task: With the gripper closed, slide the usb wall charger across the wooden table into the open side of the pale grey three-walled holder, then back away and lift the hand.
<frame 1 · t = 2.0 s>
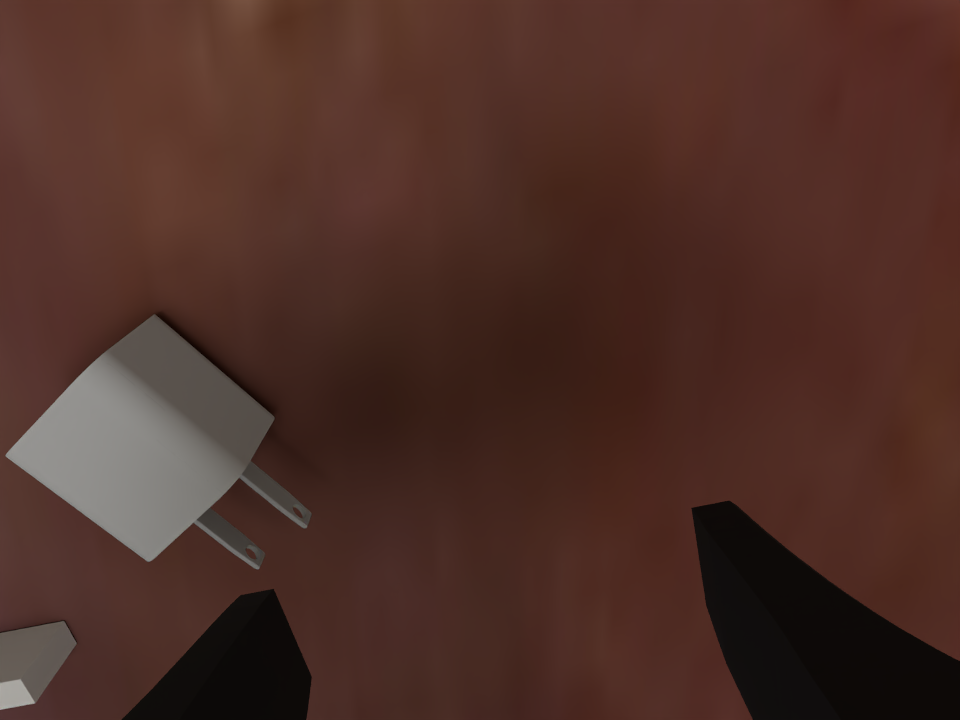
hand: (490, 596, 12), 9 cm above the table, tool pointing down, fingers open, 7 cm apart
usb wall charger: (216, 428, 22), on the table
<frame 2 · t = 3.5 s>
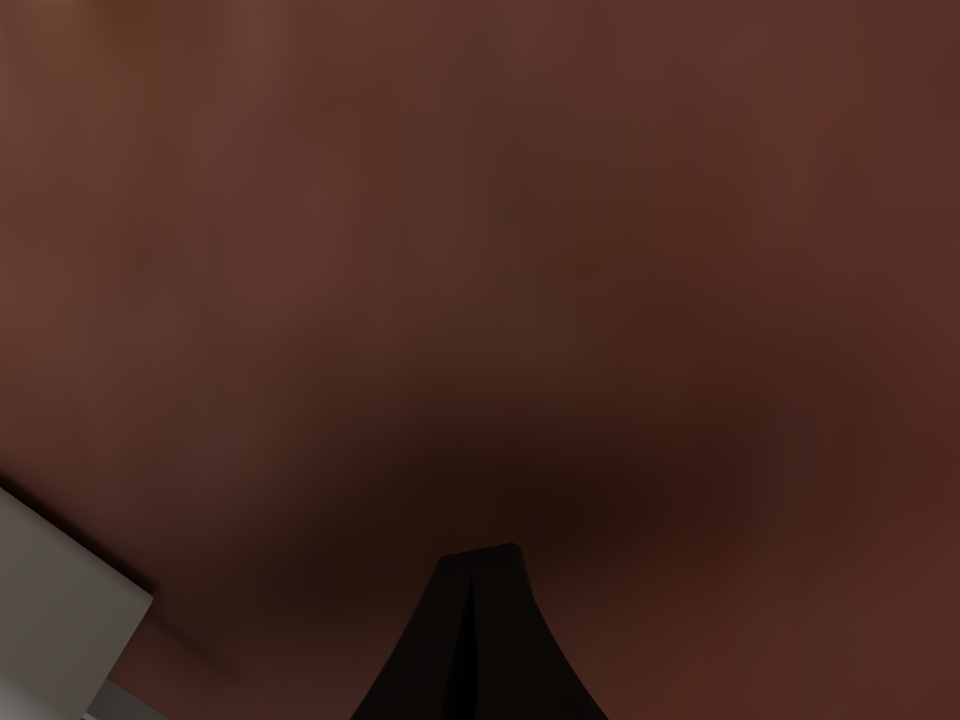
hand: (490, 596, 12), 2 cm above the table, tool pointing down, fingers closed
usb wall charger: (73, 605, 15), on the table
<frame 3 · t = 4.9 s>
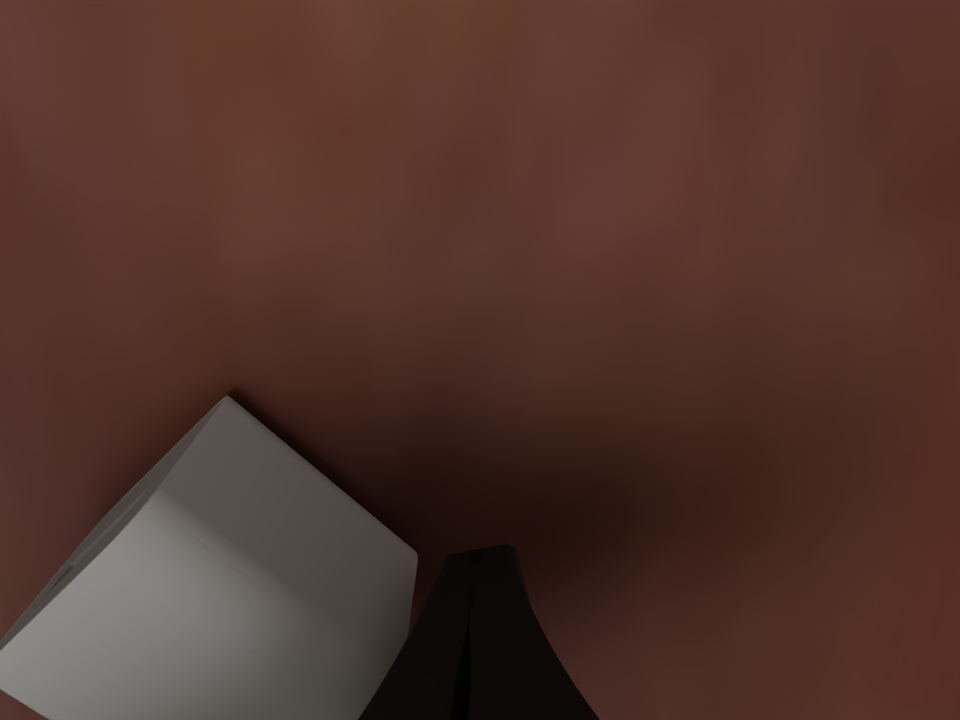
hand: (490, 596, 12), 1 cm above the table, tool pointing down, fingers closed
usb wall charger: (316, 561, 14), on the table, touching gripper
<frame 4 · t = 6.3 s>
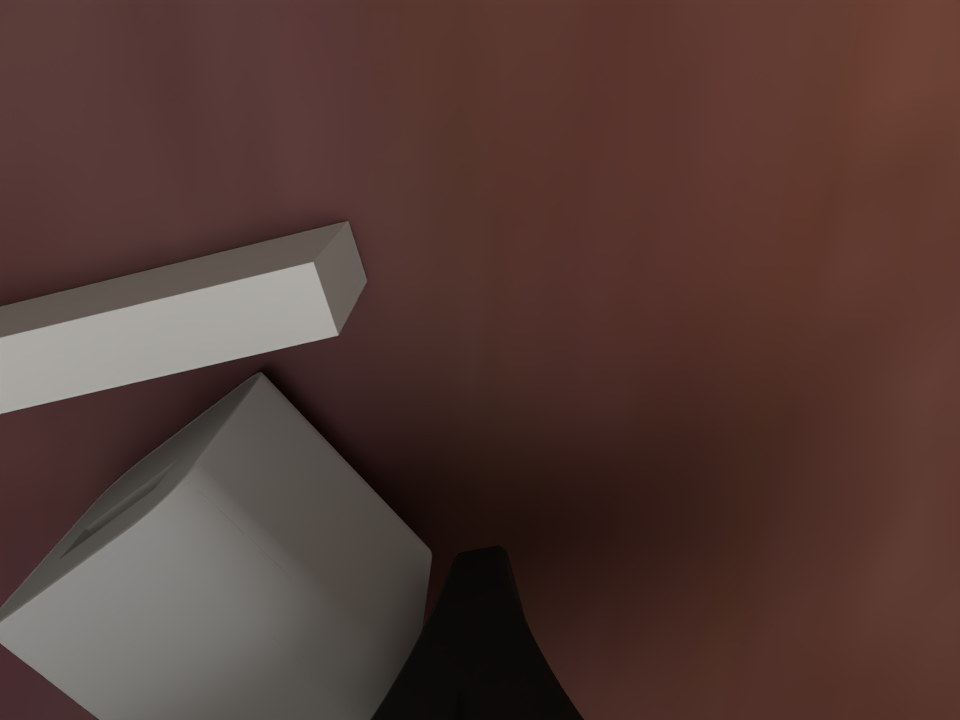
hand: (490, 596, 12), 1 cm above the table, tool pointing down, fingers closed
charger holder: (180, 609, 14), on the table
usb wall charger: (325, 547, 14), on the table, touching gripper
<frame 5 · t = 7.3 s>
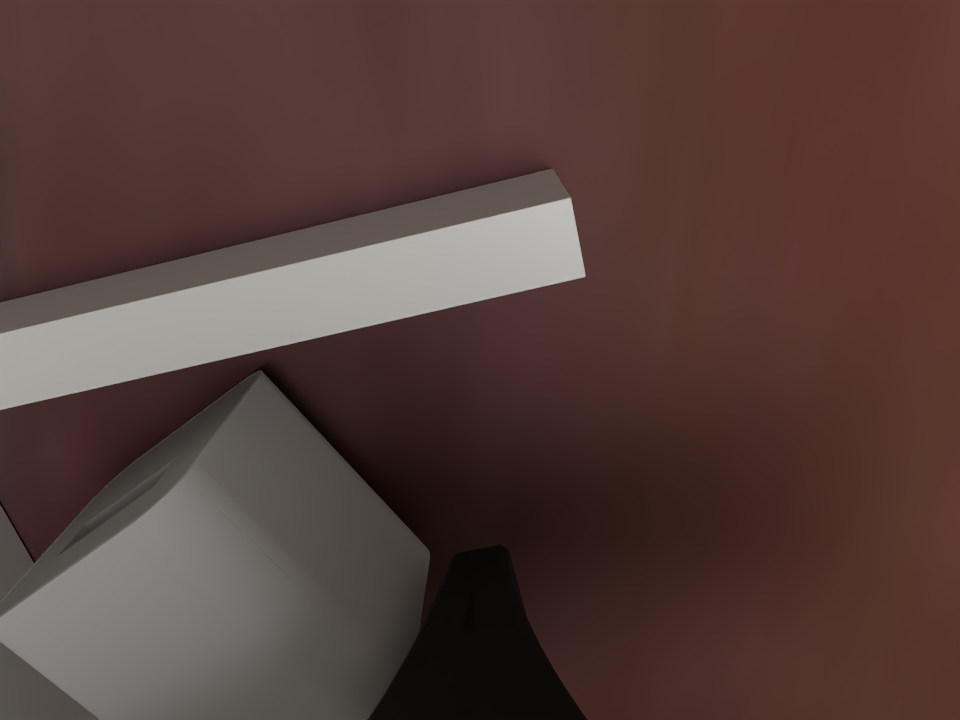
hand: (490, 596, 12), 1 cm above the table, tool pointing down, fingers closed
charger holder: (336, 576, 14), on the table
usb wall charger: (323, 545, 14), on the table, touching gripper
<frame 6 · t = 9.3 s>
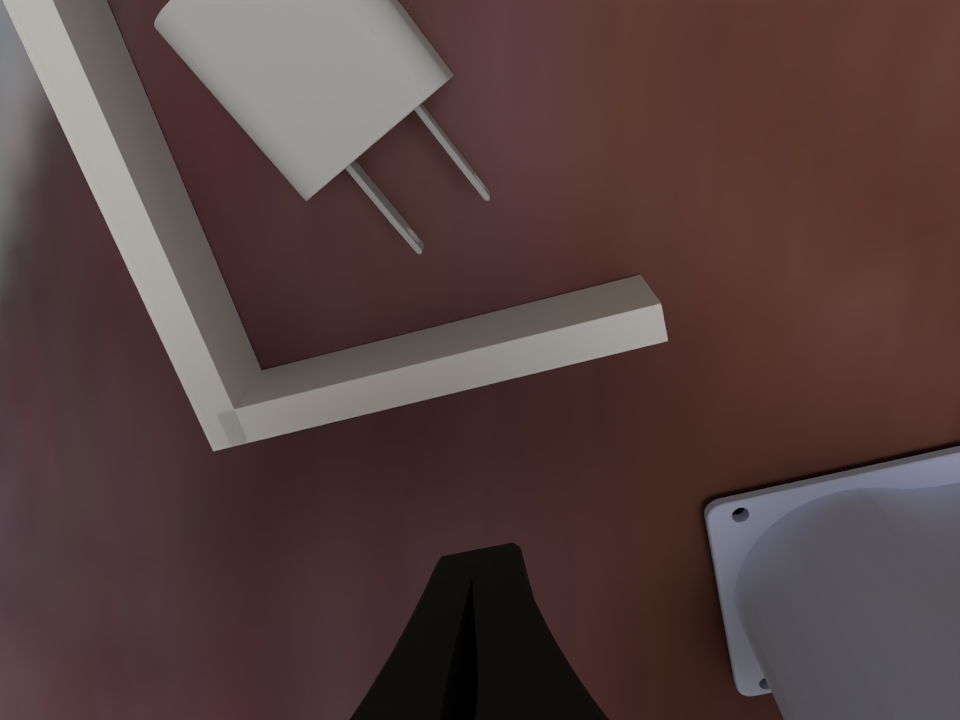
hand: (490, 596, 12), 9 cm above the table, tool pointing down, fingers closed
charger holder: (385, 124, 18), on the table
usb wall charger: (371, 98, 18), on the table
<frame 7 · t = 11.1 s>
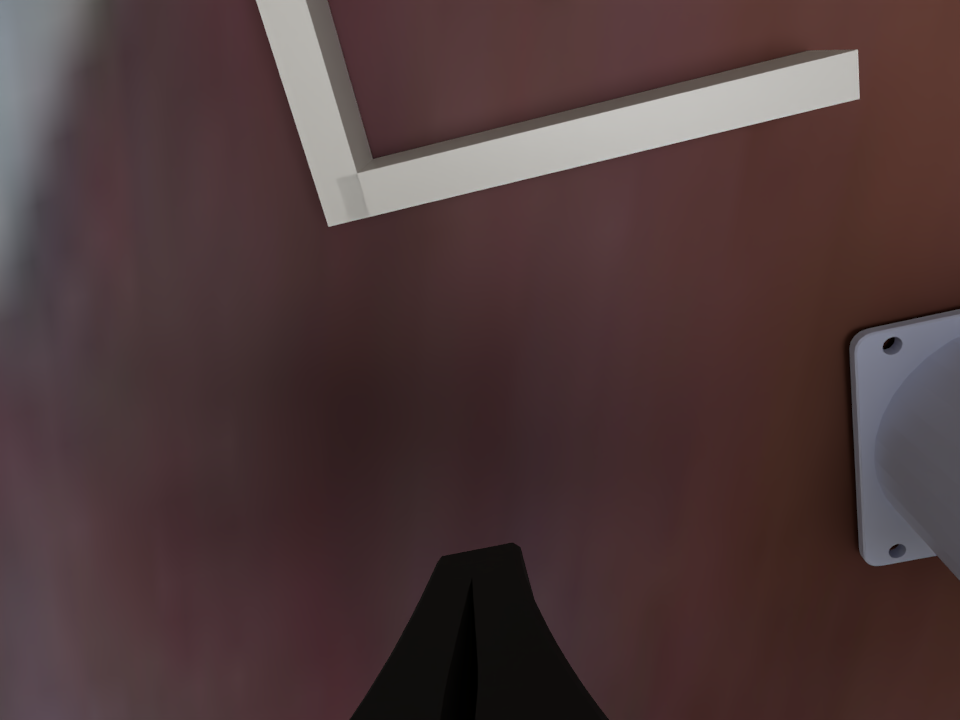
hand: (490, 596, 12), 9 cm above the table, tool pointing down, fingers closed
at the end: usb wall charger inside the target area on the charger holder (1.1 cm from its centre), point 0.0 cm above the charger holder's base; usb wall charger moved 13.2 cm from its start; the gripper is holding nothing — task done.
